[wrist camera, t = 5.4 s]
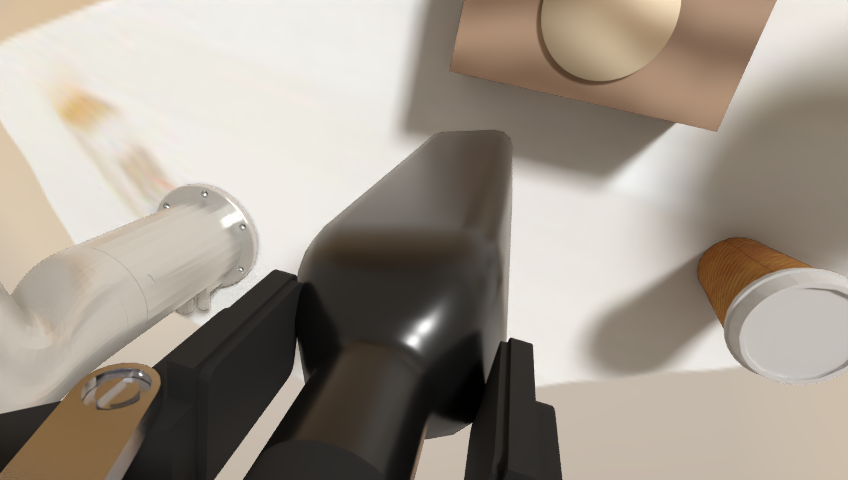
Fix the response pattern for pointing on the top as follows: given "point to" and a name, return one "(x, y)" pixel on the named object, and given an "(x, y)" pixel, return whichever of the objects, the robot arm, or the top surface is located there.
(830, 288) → the disposable coffee cup
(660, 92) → the brown rectangular block
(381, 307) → the wine bottle
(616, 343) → the top surface
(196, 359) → the robot arm
